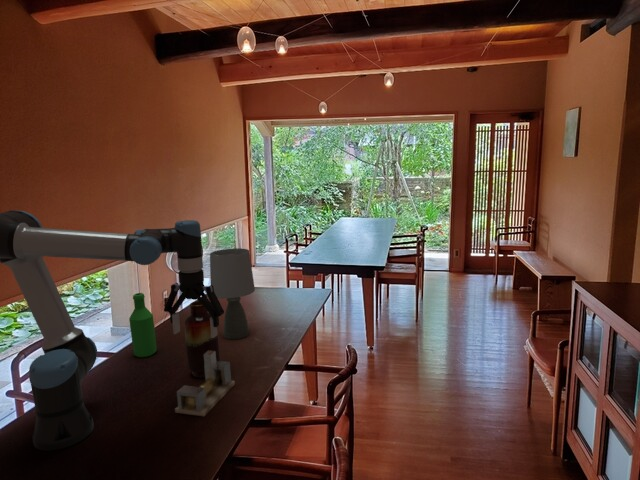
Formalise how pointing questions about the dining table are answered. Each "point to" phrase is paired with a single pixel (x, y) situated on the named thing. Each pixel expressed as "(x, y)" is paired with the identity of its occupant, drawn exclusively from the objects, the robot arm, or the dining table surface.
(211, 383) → the slide bolt
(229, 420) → the dining table surface
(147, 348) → the bottle
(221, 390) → the plank
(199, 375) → the vase
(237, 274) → the lamp
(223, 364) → the socket
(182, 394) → the sleeve
